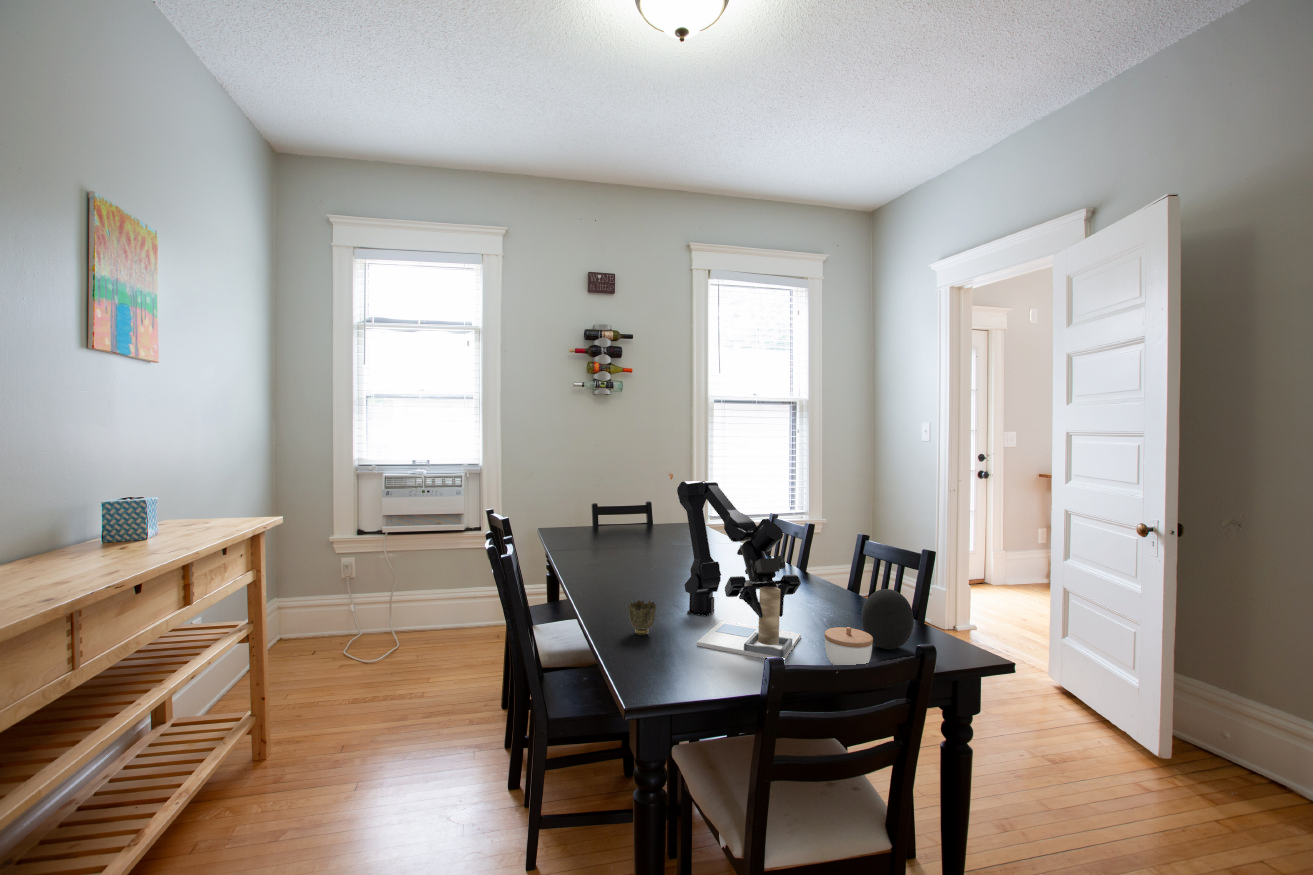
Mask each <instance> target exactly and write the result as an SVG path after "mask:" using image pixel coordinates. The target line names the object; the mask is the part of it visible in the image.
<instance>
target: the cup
mask: <svg viewBox="0 0 1313 875" xmlns="http://www.w3.org/2000/svg"><path fill="white" fill-rule="evenodd" d="M656 611H657V603H655V601H650V600H649V601H648V602H647V603H645V602H644V600H640V599H637V600H636V601H634V600H633V601H632V602H631V601H630V602H629V603H628V614H629V615H628V616H629V623H630V624H631V626H632V628H634V632H635V633H634V634H636V635H637V636H646V635H648V634H649V633H650V632H649V629H650V628H652V626H653V624H654V622H655V616H656V613H657V612H656Z"/></svg>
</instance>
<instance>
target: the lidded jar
mask: <svg viewBox="0 0 1313 875" xmlns="http://www.w3.org/2000/svg"><path fill="white" fill-rule="evenodd" d="M824 647H825V648H824V649H825V653H826V654H825V655H826V656H827V659H828V660H829V661H830V663H831V664H832V665H833V666H834V665H856V664H866V663H868V664H869V662H870V660H871V657H872V653H873V637H872V636H871V635H870V634H868V633H866V632H864V630H861V629H857V628H852V627H850V626H847V627H831V628H828V629H825V631H824Z"/></svg>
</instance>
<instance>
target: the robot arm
mask: <svg viewBox="0 0 1313 875" xmlns="http://www.w3.org/2000/svg"><path fill="white" fill-rule="evenodd" d="M676 492H677V496H678V497H677V498H678V500H679V503H680V505H681V506H682V508H683V509H684V510H685V512H686V515H687V523H688V529H689V534H690V535H689V536H690V540H691V541H690V542H691V547H692V554H693V561H692V564H691V567H690V577H689V578H688V579H687V581H686V582H685V583H684V591H685V592H686V593H688V594H689V606H688V610H687V611H686V614H690V615H696V616H700V617H701V616H703V617H708V616H710V615H711V614H712V613H714V612H715V597H714V593H716V592H718V591H719V586H720V583H721V580H722V579H721V576H722V573H721V570H720V563H719V561H715V560H714V559H713V558H712V556H711V550H710V544H709V537H708V533H707V526H706V520H705V514H704V507H705V505H706V502H708V503H709V504H710V506H711V507H712V508H713V509H714V511H715V512H716V513H717V515H718V516H719V517H720V518H721V520H722V521H723V529H724V532H725V533H726V535H727V537H728V539H729V540H730V541H731V542H732V543H737V542H743V543H742V544H740V545H739V548H738V549H737V553H736V554H737V555H738V556H742V557H743V562H744V565H745V570H744V572H745V575H747V576H748V579H746V577H745V576H742V575H741V576H740V575H739V576H736V575H735V576H730V577H729V578H728V580H727V582H726V583H725V586H724V593H725V597H727V598H737V597H738V599H739V600H743V601H744V602H745V603H746V605H748V606H749V607H750V608H751V609H752V610H753V612H754V613H755V614H756V615H757V617H758V618H759V617H760V618H762V616H763V615H762V610H761V607H760V604H759V598H758V596H757V590H760V588H761V587H765V586H770V587H776V588H779V589H780V618H781V617H783V615H784V599H785V596H787V595H794V594H795V593H796V592H797V590H798V589H799V587H800V586H801V584H802V581H801V578H800V577H799V575H797V574H783V575H782V577H781V578H780V579H779V580H773V578H776V577H777V576H776V575H777V574H776V573H777V572H780V570H783V569H785V567H786V560H785V559H784V556H783V555H775V556H774V557H768V558H767V557H766V553H768V552H770V551H771V550H772V549H773V548H774V547H775V546H776V545H777V544H778V543H779V542H780V541H781V540H782V539H783V538H784V536H783V535H784V533H783V530H782V529H781V527H779V525H778V524H776V523H774V522H772V521H771V520H770V518H763V519H761V521H760V522H759V523H758V524H756V522H755V521H754V520H753V519H752V518H751V517H750V516H748V515H747V514H744V513H742V512H740V511H739V510H738V509H737V508H736V507H735V506H734V505H733V503H732V501H730V499H729V497H727V495H726V494H725V493H724V492H723V490H722V489H721V488H720V487H719V483H718V482H717V481H715V480H702V481H701V480H693V481H690V480H689V481H687V480H686V481H681V482H680V483H679V484H678V486H677V488H676Z"/></svg>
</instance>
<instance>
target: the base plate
mask: <svg viewBox="0 0 1313 875" xmlns="http://www.w3.org/2000/svg"><path fill="white" fill-rule="evenodd" d="M758 629H759V626H757V625H751V624H744V623H738V622H732V621H726V620H721V621H720V622H719V623H717V624H716V625H715V626H713V628H711V629H709V631H708V632H707V633H705V634H704V635H703V636H702V637H700V638H699V640H697V641H696V646H697V647H702V648H706V649H711V650H716V651H717V650H718V651H724V652H728V653H734V654H739V655H743V656H749V657H755V658H759V657H760V658H759V659H765V658H767V657H783V658H785V660H786V659H787V658H788V657H787V656H789V655H790V654H791V652H792V651H793V650H794V649H795V647H794V646H796V645H797V644H798V643H799V641H800V639H801V636H802V635H801V633H797V632H791V631H786V630H780V629H779V643H778V644H776V645H765V644H762V643H760V642H758ZM791 650H792V651H791ZM789 653H790V654H789ZM788 654H789V655H788ZM762 657H764V658H762ZM765 660H766V659H765Z"/></svg>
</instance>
